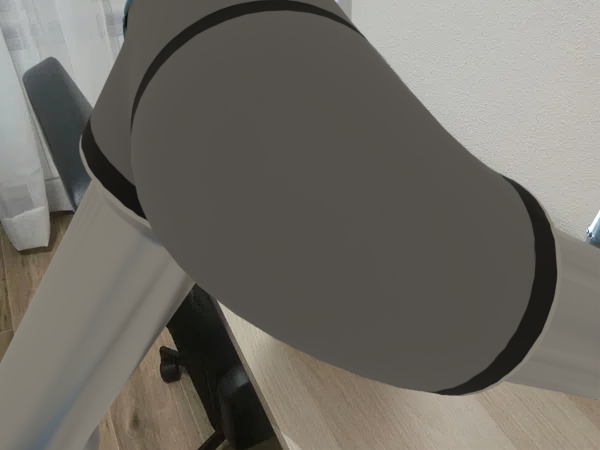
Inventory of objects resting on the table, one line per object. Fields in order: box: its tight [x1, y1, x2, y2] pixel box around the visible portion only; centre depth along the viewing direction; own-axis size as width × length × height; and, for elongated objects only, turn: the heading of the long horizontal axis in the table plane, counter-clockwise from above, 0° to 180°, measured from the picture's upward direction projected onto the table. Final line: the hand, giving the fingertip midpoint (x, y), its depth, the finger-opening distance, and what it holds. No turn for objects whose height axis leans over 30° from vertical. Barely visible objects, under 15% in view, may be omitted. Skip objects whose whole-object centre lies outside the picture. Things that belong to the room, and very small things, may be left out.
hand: (334, 190), depth 71 cm, fingers closed on disc stack, 7 cm apart
